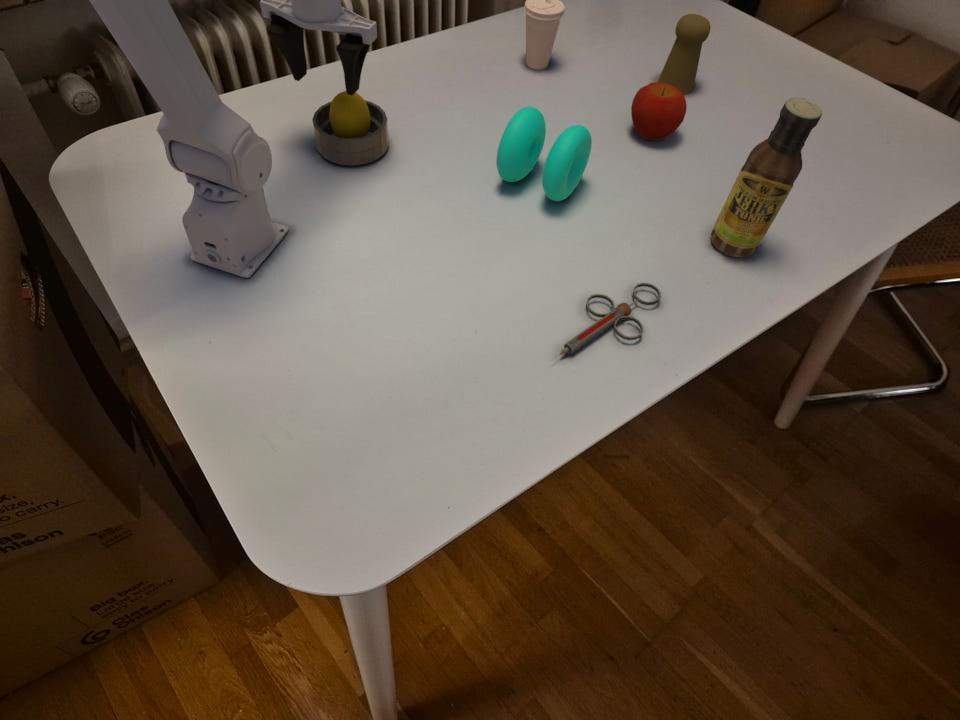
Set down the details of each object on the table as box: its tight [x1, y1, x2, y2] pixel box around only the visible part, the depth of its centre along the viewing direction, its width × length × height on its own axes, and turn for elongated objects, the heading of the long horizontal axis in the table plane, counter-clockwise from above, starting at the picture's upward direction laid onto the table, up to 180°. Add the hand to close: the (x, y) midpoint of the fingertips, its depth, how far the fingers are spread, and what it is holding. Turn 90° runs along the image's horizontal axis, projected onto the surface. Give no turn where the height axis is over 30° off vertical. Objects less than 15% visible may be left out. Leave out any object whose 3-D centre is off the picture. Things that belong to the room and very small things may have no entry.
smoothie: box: [523, 0, 565, 71], centre depth 107 cm, size 6×6×14 cm
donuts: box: [496, 106, 592, 202], centre depth 88 cm, size 10×10×10 cm
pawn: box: [657, 13, 711, 96], centre depth 106 cm, size 6×6×11 cm
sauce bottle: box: [710, 97, 823, 258], centre depth 79 cm, size 6×6×20 cm
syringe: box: [550, 282, 662, 362], centre depth 76 cm, size 8×18×2 cm, turn 131°
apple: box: [630, 81, 688, 141], centre depth 98 cm, size 8×8×8 cm
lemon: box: [329, 90, 370, 138], centre depth 91 cm, size 6×6×8 cm
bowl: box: [311, 99, 389, 166], centre depth 93 cm, size 10×10×4 cm
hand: (326, 84), depth 86 cm, fingers open, 7 cm apart
